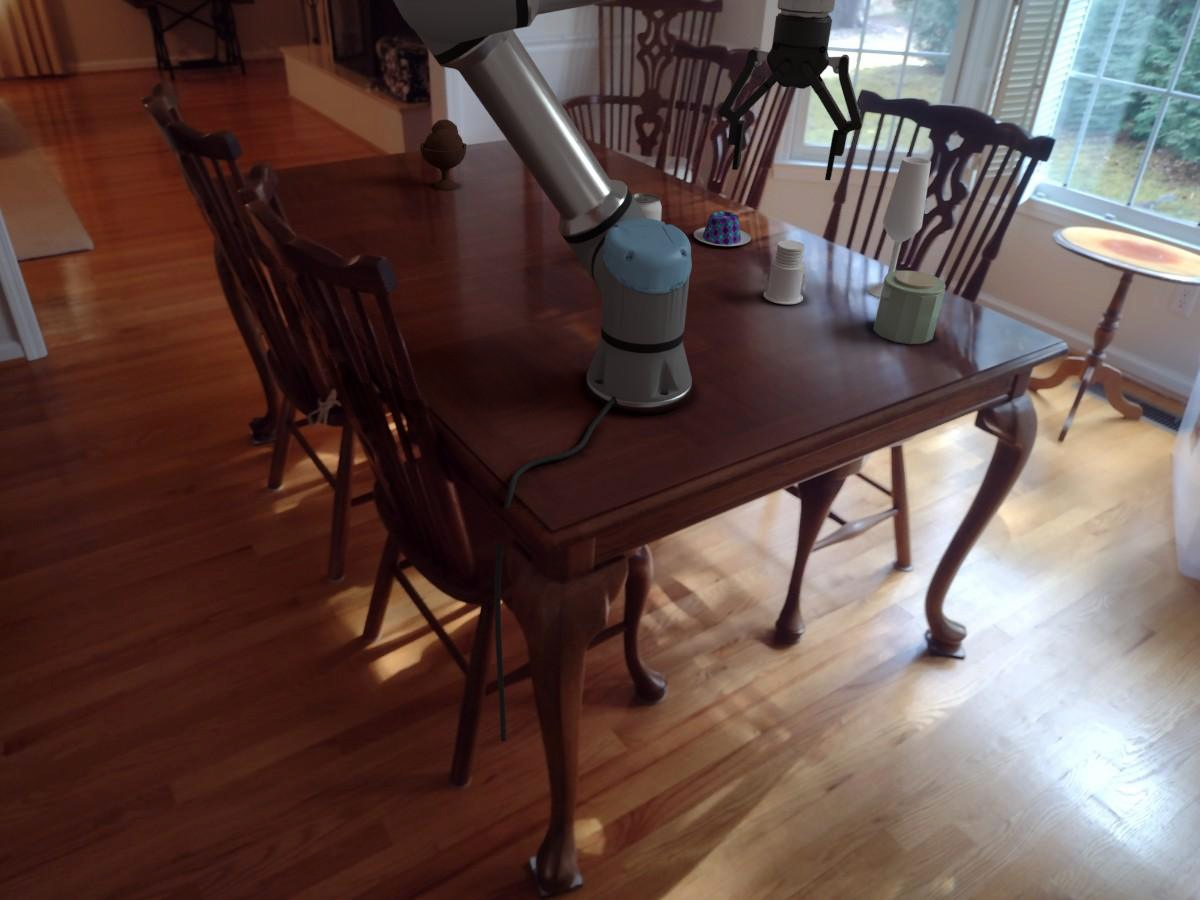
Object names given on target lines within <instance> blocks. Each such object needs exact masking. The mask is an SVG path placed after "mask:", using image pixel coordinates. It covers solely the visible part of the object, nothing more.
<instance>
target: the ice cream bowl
mask: <svg viewBox="0 0 1200 900" xmlns="http://www.w3.org/2000/svg"><path fill="white" fill-rule="evenodd" d="M419 150H420V153H421V156H422V157H423V159H424V160H425V161H426V162H427V163H428V164H429V165H430V166H431V167H434V168H435V169H439V170H440V172H441V179H439V180H437V181H436V182H435V184H434V188H435V189H438V190H444V191H446V190H454V189H456V188H458V184H457V182H455V181H454V180H452V179H451V178H450V173H449V172H450V170H451V169H453V168H456V167H457V166H459V165H460V164H461V163H462V162H463V160H464V159H465V157H466V154H467V143H465V142H463V138H462V136H461V135H460V133H459V129H458V126H457V124H456V123H454V122H453V121H452V120H449V119H438V120H437V121H436V122H435V123H434V124H433V125H432V126H431V132H430V133H429V134H428V135H427V136H426V138H425V140H424V142H422V143H420V146H419Z"/></svg>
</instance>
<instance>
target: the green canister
mask: <svg viewBox="0 0 1200 900" xmlns="http://www.w3.org/2000/svg"><path fill="white" fill-rule="evenodd" d="M887 273H888V272H887ZM887 273H886V274H885V276H884V278H883V282H882V283H883V286H882V290H881V295H880V298H879V300H878V305H877V308H876V313H875V317H874V321H873V331H874V332H875V333H876V334H877V335H878V336H879V337H881V338H883V339H886V340H888V341H891V342H893V343H899V344H906V345H920V344H926V343H928V342H929V341H931V340H933V339H934V335H935V331H936V327H937V324H938V320H939V316H940V313H941V309H942V305H943V302H944V298H945V294H946V286H947V285H946V283H945V281H943V280H942V279H941V278H939V277H937V276H935V275H931V274H930V273H926V272H921V271H916V270H895V271H894V272H890V273H888V274H887Z"/></svg>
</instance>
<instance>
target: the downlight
mask: <svg viewBox="0 0 1200 900" xmlns="http://www.w3.org/2000/svg"><path fill="white" fill-rule="evenodd" d="M804 252H805V244H804V243H803V242H800V241H797V240H789V239H785V240H780V241H779V242H777V247H776V255H775V258H773V259H772V260H771V264H770V271H769V275H768V273H765V274H764V278H763V279H764V280H763V282H764V288H765V290H764V292H763V298H764V299H766V300H767V301H769V302H771V303H774V304H779V305H797V304H799V303H801V302H803V300H804V296H803V295H802V294H801V291H803V292H806V287H807V279H806V271H805V267H806V264H805V262H803V259H804ZM768 276H769V278H768ZM767 281H768V283H767Z"/></svg>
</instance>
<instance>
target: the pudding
mask: <svg viewBox="0 0 1200 900" xmlns="http://www.w3.org/2000/svg"><path fill="white" fill-rule="evenodd" d="M740 225H741V224H740V218H739V215H737V214H735V212H732V211H726V210H725V211H724V210H721V211H715V212H712V213H711V214H710V215H709V216H708V220H707V223H706V225H705V226H704V227H701V228H698V229H696V230H695V231H694V232H693V237H694V239H696V240H698V241H699V242H702V243H705V244H708V245H711V246H717V247H718V246H719V247H736V246H742V245H746V244H747V243H749V242H751V240H752V237H751V235H750V234H749V233H748V232H746V231H743V230H741V226H740Z"/></svg>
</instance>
